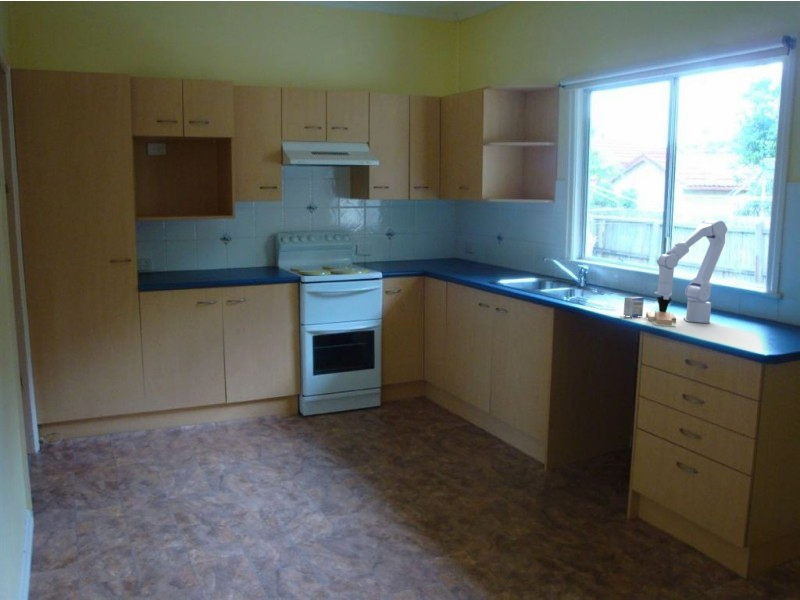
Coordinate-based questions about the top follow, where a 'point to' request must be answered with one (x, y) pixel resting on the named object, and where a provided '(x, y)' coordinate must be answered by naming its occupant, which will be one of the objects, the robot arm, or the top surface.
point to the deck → (652, 317)
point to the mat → (664, 324)
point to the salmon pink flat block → (663, 318)
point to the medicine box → (633, 306)
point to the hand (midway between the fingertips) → (662, 313)
